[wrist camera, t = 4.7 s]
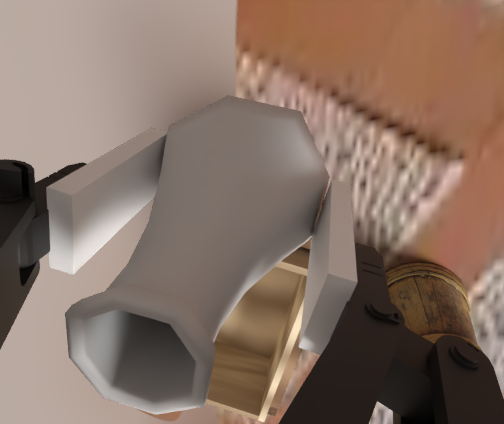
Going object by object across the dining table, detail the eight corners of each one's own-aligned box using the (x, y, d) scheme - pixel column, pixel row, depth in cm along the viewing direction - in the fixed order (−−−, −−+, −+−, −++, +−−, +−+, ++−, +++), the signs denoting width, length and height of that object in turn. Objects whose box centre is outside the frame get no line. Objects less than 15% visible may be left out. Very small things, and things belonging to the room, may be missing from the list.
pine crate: (204, 189, 36) (173, 228, 29) (323, 223, 35) (321, 273, 28) (179, 327, 44) (150, 384, 37) (274, 358, 44) (263, 422, 36)
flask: (146, 104, 16) (-94, 208, 7) (323, 82, 14) (298, 184, 5) (184, 253, 19) (50, 455, 10) (334, 250, 17) (329, 493, 8)
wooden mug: (343, 349, 42) (350, 542, 27) (390, 250, 36) (435, 426, 20) (422, 373, 42) (477, 586, 26) (484, 278, 36) (606, 480, 20)
